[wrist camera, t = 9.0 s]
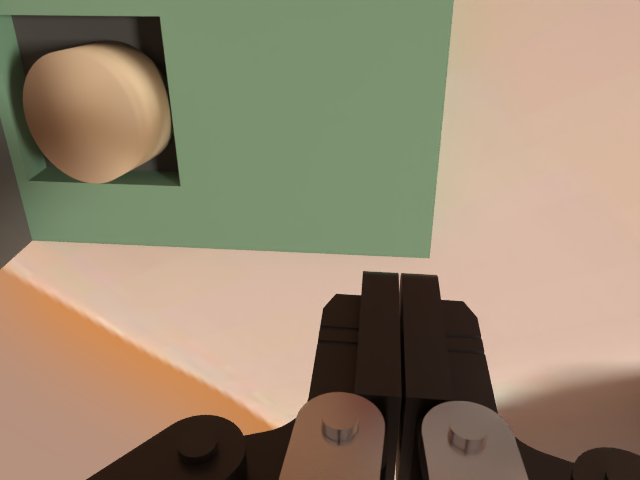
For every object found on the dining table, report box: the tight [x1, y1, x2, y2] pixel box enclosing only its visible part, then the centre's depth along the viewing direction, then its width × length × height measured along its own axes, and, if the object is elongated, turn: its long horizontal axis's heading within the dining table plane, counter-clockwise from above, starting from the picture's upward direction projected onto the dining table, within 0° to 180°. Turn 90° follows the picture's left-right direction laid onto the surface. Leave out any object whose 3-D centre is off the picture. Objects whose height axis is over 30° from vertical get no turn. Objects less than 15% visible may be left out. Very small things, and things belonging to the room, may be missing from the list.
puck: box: [23, 40, 174, 184], centre depth 26 cm, size 6×6×3 cm
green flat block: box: [0, 0, 454, 269], centre depth 26 cm, size 14×21×5 cm, turn 90°
